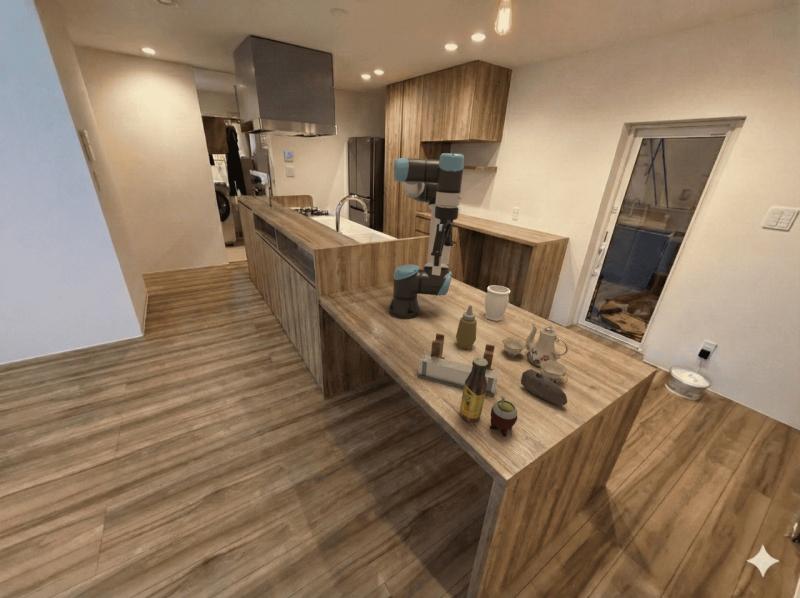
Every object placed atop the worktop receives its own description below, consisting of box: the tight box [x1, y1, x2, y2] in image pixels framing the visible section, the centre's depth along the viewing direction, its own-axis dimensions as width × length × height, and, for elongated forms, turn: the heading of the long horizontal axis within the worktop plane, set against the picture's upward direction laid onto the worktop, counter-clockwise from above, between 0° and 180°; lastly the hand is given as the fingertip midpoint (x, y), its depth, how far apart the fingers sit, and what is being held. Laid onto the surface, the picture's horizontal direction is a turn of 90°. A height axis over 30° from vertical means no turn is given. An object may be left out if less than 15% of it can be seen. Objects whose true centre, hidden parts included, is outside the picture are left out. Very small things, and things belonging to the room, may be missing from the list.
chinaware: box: [501, 323, 569, 384], centre depth 119 cm, size 28×17×17 cm, turn 36°
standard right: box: [482, 343, 496, 371], centre depth 112 cm, size 5×7×11 cm
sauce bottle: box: [459, 356, 488, 422], centre depth 92 cm, size 6×6×20 cm
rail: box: [417, 354, 499, 395], centre depth 109 cm, size 26×4×6 cm, turn 70°
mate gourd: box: [489, 395, 518, 438], centre depth 89 cm, size 8×8×15 cm
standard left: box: [430, 332, 446, 360], centre depth 117 cm, size 5×7×11 cm
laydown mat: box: [416, 374, 495, 398], centre depth 110 cm, size 26×6×1 cm, turn 70°
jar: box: [484, 284, 511, 322], centre depth 154 cm, size 11×10×15 cm
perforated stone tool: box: [520, 369, 568, 406], centre depth 104 cm, size 15×5×7 cm, turn 38°
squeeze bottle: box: [455, 305, 478, 350], centre depth 128 cm, size 8×8×18 cm
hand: (440, 268), depth 112 cm, fingers open, 13 cm apart
